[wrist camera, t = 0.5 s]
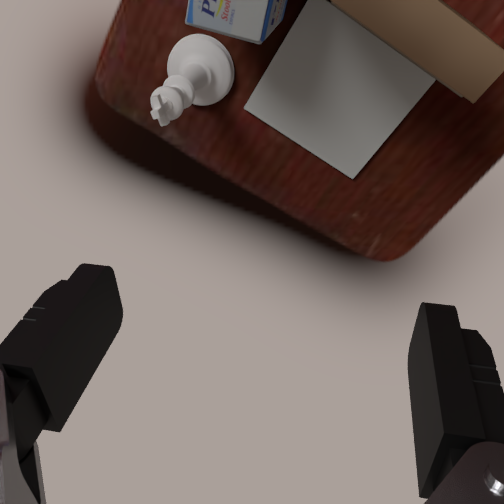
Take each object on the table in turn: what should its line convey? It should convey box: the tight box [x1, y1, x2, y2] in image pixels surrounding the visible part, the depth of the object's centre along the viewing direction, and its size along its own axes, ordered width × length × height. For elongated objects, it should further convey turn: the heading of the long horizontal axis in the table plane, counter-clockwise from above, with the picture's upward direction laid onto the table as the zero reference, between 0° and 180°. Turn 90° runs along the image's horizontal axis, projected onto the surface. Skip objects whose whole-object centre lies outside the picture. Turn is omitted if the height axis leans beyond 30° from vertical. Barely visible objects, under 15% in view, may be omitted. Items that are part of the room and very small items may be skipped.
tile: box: [331, 0, 504, 104], centre depth 26 cm, size 3×9×10 cm, turn 59°
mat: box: [244, 0, 436, 179], centre depth 34 cm, size 9×10×1 cm
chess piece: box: [151, 34, 234, 126], centre depth 31 cm, size 5×5×10 cm
